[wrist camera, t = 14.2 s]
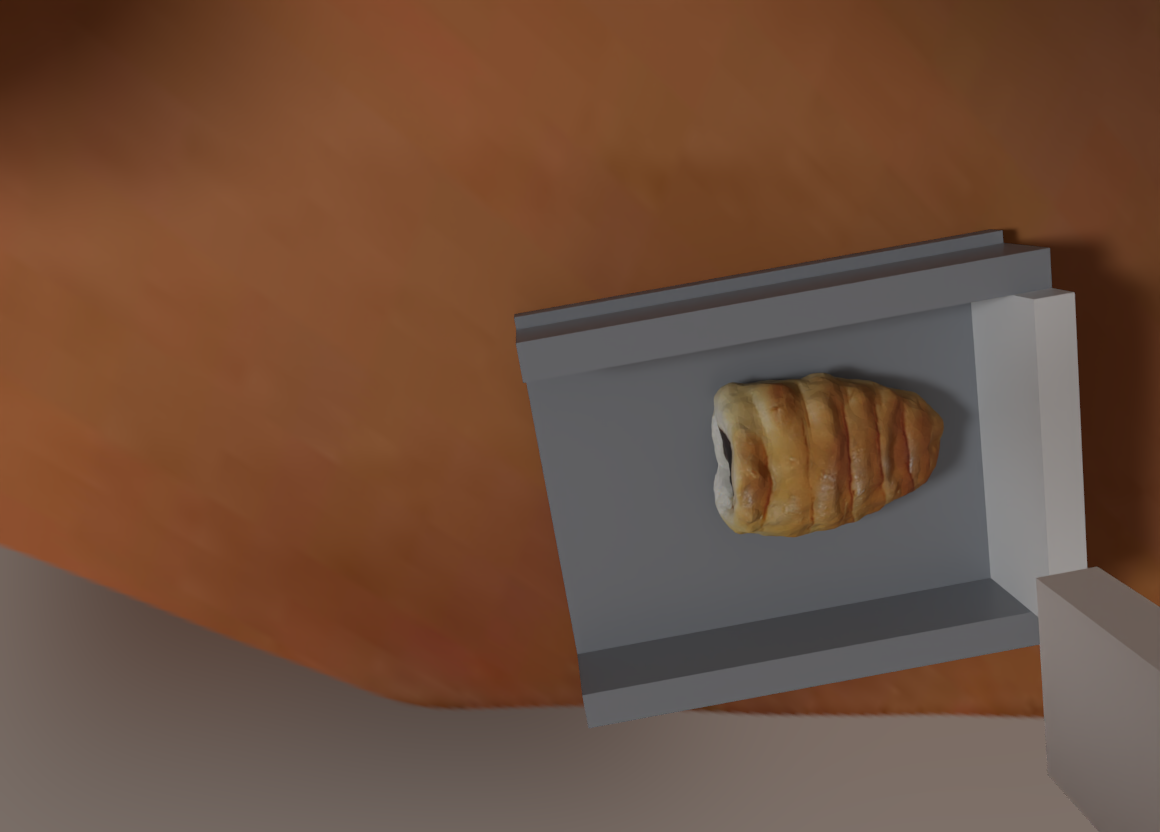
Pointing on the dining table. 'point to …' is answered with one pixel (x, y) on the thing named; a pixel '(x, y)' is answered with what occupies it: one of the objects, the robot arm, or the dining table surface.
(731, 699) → the tray
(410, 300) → the dining table surface
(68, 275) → the dining table surface
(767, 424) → the pastry
